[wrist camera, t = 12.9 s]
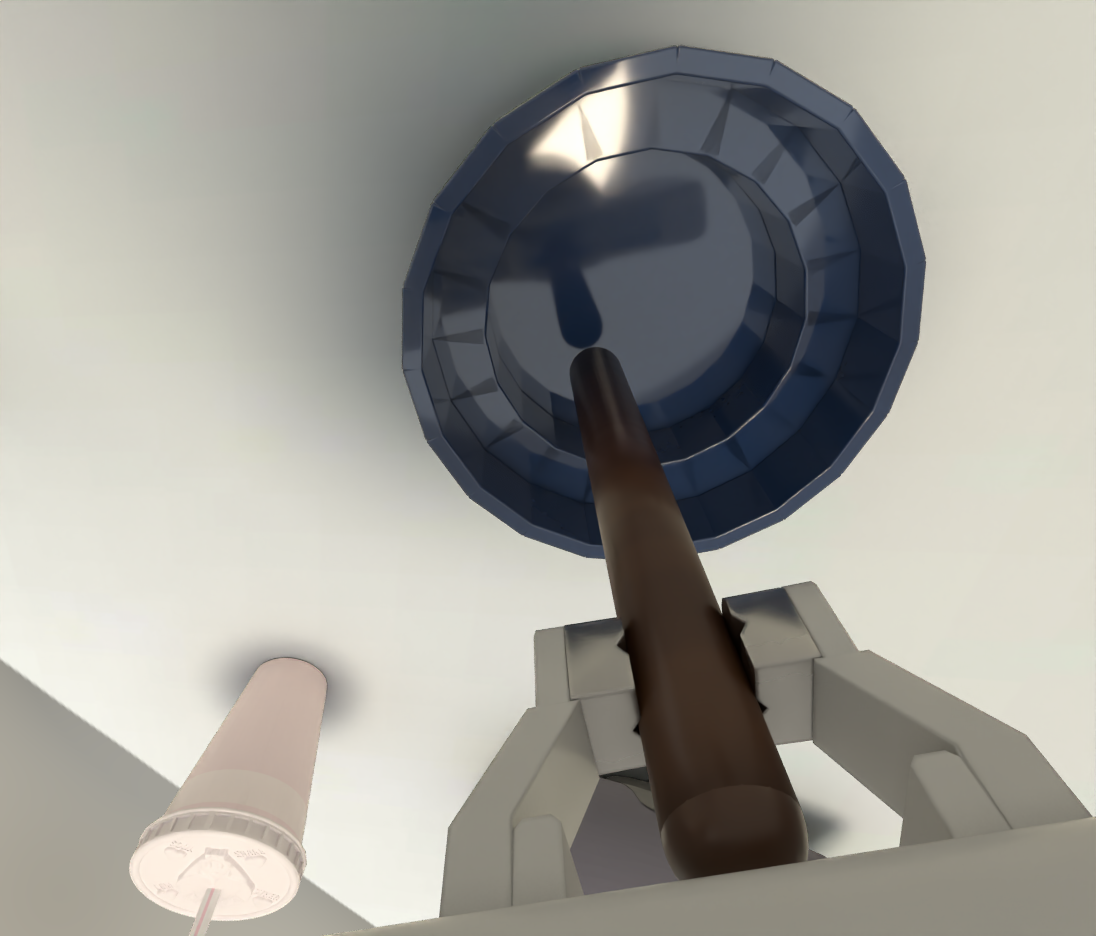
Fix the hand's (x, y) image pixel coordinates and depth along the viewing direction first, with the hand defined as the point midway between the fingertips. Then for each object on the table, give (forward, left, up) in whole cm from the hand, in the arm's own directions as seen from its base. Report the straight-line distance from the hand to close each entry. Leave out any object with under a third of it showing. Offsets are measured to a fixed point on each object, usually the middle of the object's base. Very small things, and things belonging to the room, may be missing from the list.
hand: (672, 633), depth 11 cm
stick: (0, 0, -14) cm, 14 cm away
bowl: (-1, +2, -16) cm, 16 cm away
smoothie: (+15, -18, -16) cm, 28 cm away
